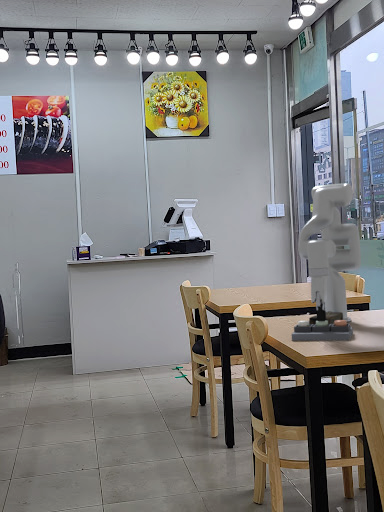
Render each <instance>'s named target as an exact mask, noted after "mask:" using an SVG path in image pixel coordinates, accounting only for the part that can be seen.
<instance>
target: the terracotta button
mask: <svg viewBox="0 0 384 512" xmlns="http://www.w3.org/2000/svg"><path fill="white" fill-rule="evenodd" d="M347 324H348V322H347V321H346V320H336V321H335V326H347Z"/></svg>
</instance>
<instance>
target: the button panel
mask: <svg viewBox="0 0 384 512" xmlns="http://www.w3.org/2000/svg"><path fill="white" fill-rule="evenodd" d="M353 334H354V330H353V327H352V326H351V323H347V326H335V324H333V325H332V324H328V326H324V327H316V324H315V325H314V324H310V327H298V323H297V324H296V325H294V327H293V332H292V333H291V341H301V342H302V341H349V340H350V339H351V338H352V336H353Z"/></svg>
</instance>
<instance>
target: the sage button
mask: <svg viewBox="0 0 384 512" xmlns="http://www.w3.org/2000/svg"><path fill="white" fill-rule="evenodd" d="M324 326H328V321H316V327H324Z"/></svg>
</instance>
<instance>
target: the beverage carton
mask: <svg viewBox="0 0 384 512" xmlns="http://www.w3.org/2000/svg"><path fill="white" fill-rule="evenodd" d="M336 320H343V313H342V312H332V311H328V312H326V321H328V324H332V325H333V324H335V321H336ZM308 321H309V324H314V325H315V324H316V321H317V314H316V315H314V316H311V317H309V320H308Z"/></svg>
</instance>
